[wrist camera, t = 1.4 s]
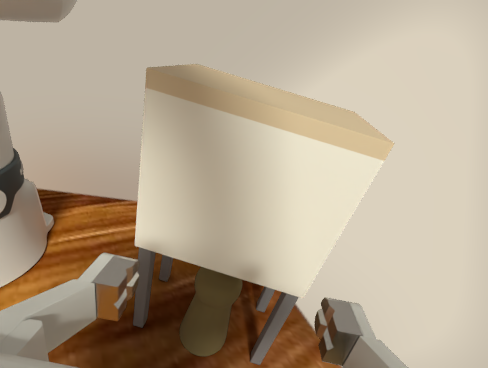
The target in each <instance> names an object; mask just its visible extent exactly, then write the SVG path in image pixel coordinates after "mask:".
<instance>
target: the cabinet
mask: <svg viewBox="0 0 488 368" xmlns="http://www.w3.org/2000/svg"><path fill="white" fill-rule="evenodd" d="M393 145H394V143H393V142H392V141H391V140H389V139H388V138H387V137H385V136H384V135H383V134H382V133H380V132H379V131H378V130H377V129H375V128H374V127H373V126H372V125H370V124H369V123H368V122H366V121H365V120H364V119H363V118H361V117H360V116H359V115H358V114H356V113H355V112H353V111H349V110H346V109H343V108H339V107H336V106H333V105H330V104H326V103H323V102H320V101H317V100H313V99H310V98H307V97H304V96H300V95H297V94H294V93H291V92H287V91H283V90H280V89H277V88H274V87H271V86H267V85H264V84H261V83H257V82H255V81H251V80H248V79H244V78H241V77H238V76H235V75H231V74H228V73H225V72H222V71H218V70H215V69H212V68H209V67H205V66H202V65H199V64H191V65H176V66H163V67H149V68H147V69H146V85H145V99H144V114H143V129H142V144H141V160H140V174H139V189H138V203H137V218H136V233H135V246H137V247H139V255H138V260H139V261H140V267H139V269H138V271H137V273H138V274H139V282H138V286H137V289H136V293H135V305H134V318H133V325H134V326H138V327H141V328H143V326H144V324H145V322H146V320H147V317H148V309H149V301H150V293H151V285H152V277H153V269H154V261H155V253H159V254H163V255H162V262H161V269H160V276H159V280H163V281H166V282H167V281H168V279H169V277H170V274H171V268H172V262H173V258H175V259H179V260H182V261H185V262H188V263H191V264H195V265H198V266H201V267H204V268H207V269H211V270H214V271H217V272H220V273H223V274H227V275H230V276H233V277H236V278H239V279H243V280H246V281H249V282H252V283H255V284H259V285H262V286H264V288H263V291H262V293H261V295H260V297H259V299H258V302H257V307H256V310H258V311H261V312H265V310H266V308H267V305H268V303H269V301H270V299H271V297H272V295H273V293H274V291H275V290H278V291H281V292H282V293H281V295H280V297H279V299H278V301H277V303H276V305H275V307H274V309H273V311H272V313H271V315H270V316H269V318H268V320H267V322H266V324H265V326H264V328H263V330H262V332H261V334H260V336H259V338H258V340H257V342H256V344H255V346H254V347H253V349H252V351H251V359H250V362H252V363H255V364H258V365H260V364H261V362H262V360H263V358H264V357H265V355H266V353H267V351H268V350H269V348H270V346H271V345H272V343H273V341H274V339H275V338H276V336H277V334H278V332H279V331H280V329H281V327H282V325H283V324H284V322H285V320H286V318H287V317H288V315H289V313H290V311H291V310H292V308H293V306H294V304H295V303H296V301H297V299H298V297H300V298H304V296H305V294H306V293H307V291H308V290H309V288H310V286H311V284H312V282H313V281H314V279H315V277H316V276H317V274H318V273H319V271H320V269H321V267H322V266H323V264H324V262H325V261H326V259H327V257H328V256H329V254H330V252H331V251H332V249H333V247H334V245H335V244H336V242H337V240H338V239H339V237H340V235H341V233H342V232H343V230H344V228H345V227H346V224H347V223H348V222H349V220H350V218H351V216H352V215H353V213H354V212H355V210H356V208H357V206H358V205H359V203H360V201H361V200H362V198H363V196H364V195H365V193H366V191H367V189H368V188H369V186H370V184H371V183H372V181H373V179H374V178H375V176H376V174H377V173H378V171H379V169H380V167H381V166H382V164H383V162H384V161H385V159H386V157H387V156H388V154H389V152H390V150H391V149H392V147H393Z"/></svg>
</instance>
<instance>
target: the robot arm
mask: <svg viewBox="0 0 488 368" xmlns="http://www.w3.org/2000/svg"><path fill="white" fill-rule="evenodd" d="M76 1H77V0H0V20H10V21H27V22H59V21H61V20H62V19H63V18H65V17H66V16H67V15H68V14H69V13H70V11H71V10H72V8H73V7H74V5H75V3H76ZM53 224H54V219H53V216H52V215H50V214H47V213H44V212H43V210H42V206H41V202H40V199H39V195H38V192H37V189H36V186H35V184H34V183H33V182H30V181H29V180H27V179H24V175H23V165H22V162H21V161H20V157H19V154H18V152H17V151H16V150H15V149H14V148H13V146H12V141H11V136H10V131H9V126H8V121H7V116H6V111H5V107H4V101H3V97H2V94H1V92H0V287H2V286H4V285H6V284H8V283H10V282H11V281H13V280H15V279H16V278H18V277H19V276H21V275H22V274H24V273H25V272H26V271H28V270H29V269H30V268H31V267H32V266H33V265H34V264H35V263H36V262H37V261H38V260H39V259H40V258H41V256H42V255H43V253H44V251H45V248H46V244H47V233H48V232H49V230H50V229H51V228H52V226H53ZM139 267H140V261H139V260H136V259H131V258H127V257H123V256H118V255H113V254H108V253H103V254H101V255H100V256H99V257H98V258H97V259H96V260H95V261H94V262H93V263H92V264H91V265H90V267H89V268H88V269H87V270H86V271H85V272H84V273H83V274H82V275H81V276H80V277H79V278H78V279H77V280H75V279H73V280H71V281H68V282H66V283H64V284H61V285H59V286H57V287H54V288H52V289H50V290H48V291H45V292H43V293H41V294H38V295H36V296H34V297H32V298H29V299H27V300H25V301H22V302H20V303H18V304H15V305H13V306H11V307H9V308H6V309H4V310H2V311H0V368H78V367H73V366H68V365H63V364H58V363H52V362H49V358H48V353H49V352H50V351H51V350H53V349H54V348H56V347H57V346H59V345H60V344H61V343H63V342H64V341H66V340H67V339H69V338H70V337H71V336H73V335H74V334H76V333H77V332H79V331H80V330H81V329H83V328H84V327H86V326H87V325H88V324H90V323H91V322H93V321H94V320H96V318H101V319H107V320H114V321H118V320H119V319H120V317H121V315H122V314H123V312H124V310H125V309H126V307H127V301H128V300H129V299H131V298H132V297H133V295H134V293H135V291H136V289H137V286H138V282H139V274H138V273H137V271H138V269H139ZM321 306H322V309H320V310H318V312H317V314H316V316H315V331H316V335H317V336H318V337H319V339H320V343H319V350H320V354H321V359H322V361H323V362H328V363H332V364H336V365H341V366H343V368H408V367H407V366H406V365H405V364H404V363H403V362H402V361H401V360H400V359H399V358H398V357H397V356H396V355H395V354H394V353H393V352H392V351H391V350H390V349H389V348H388V347H386V346H385V344H384V343H383V342H382V341H380V340H377V339H376V337H375V335H374V333H373V330H372V328H371V326H370V324H369V322H368V319H367V317H366V315H365V313H364V311H363V308H362V306H361V305H360V304H357V303H352V302H346V301H341V300H336V299H331V298H324V299H323V300H322V302H321Z"/></svg>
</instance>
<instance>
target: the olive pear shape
mask: <svg viewBox="0 0 488 368" xmlns="http://www.w3.org/2000/svg"><path fill="white" fill-rule="evenodd" d="M241 289H242V279H239V278H236V277H233V276H230V275H227V274H223V273H220V272H217V271H214V270H211V269H207V268H204V267H201V268H200V269H199V271H198V273H197V275H196V278H195V291H196V293H195V296H194V298H193V300H192V302H191V304H190V306H189V308H188V310H187V312H186V314H185V316H184V318H183V321H182V323H181V325H180V331H179V334H180V340H181V342H182V344H183V346H184V347H185V348H186V349H187V350H188V351H189V352H190V353H192V354H194V355H197V356H209V355H212V354H215V353H216V352H217V351H219V350H220V349H221V347H222V346H223V344H224V343H225V339H226V336H227V330H228V324H229V318H230V312H231V307H232V304H233V303H234V302H235V301H236V300H237V298H238V297H239V295H240V293H241Z"/></svg>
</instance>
